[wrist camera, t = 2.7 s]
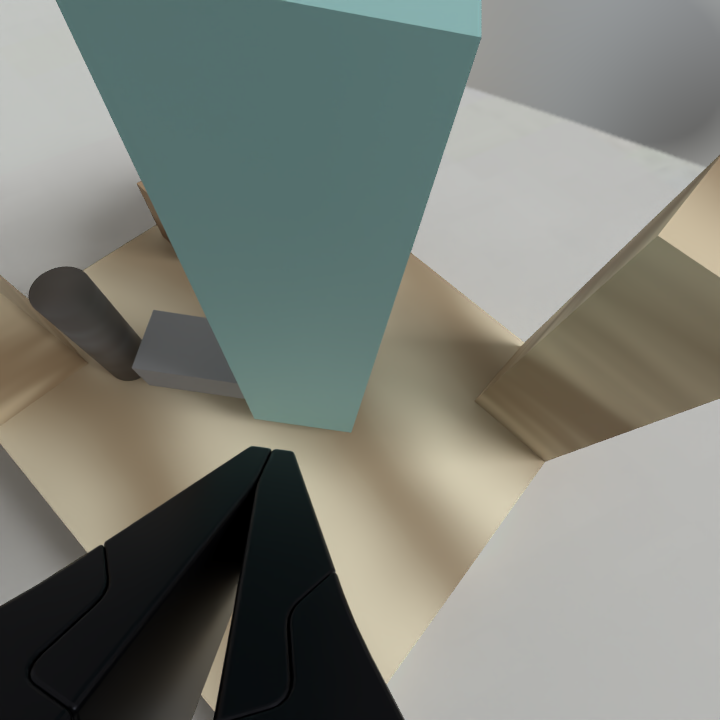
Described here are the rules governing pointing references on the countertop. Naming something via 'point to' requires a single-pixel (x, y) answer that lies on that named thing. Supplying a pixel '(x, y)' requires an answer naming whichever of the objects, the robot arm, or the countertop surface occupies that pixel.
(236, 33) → the folding leg
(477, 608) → the countertop surface
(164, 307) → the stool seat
